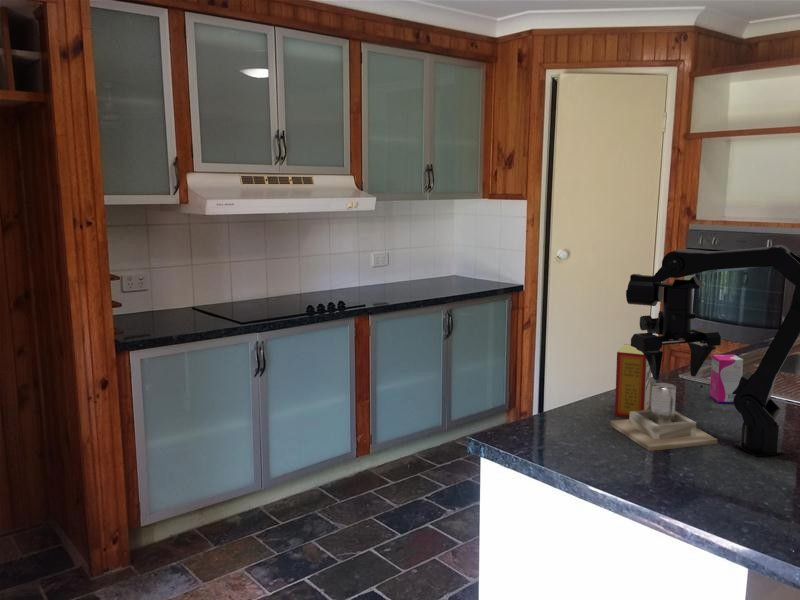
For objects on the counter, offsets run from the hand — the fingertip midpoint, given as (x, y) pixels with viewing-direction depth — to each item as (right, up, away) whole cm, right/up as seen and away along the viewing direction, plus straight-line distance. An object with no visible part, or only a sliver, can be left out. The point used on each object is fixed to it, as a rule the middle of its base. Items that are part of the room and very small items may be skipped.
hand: (674, 377), depth 145 cm
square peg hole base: (-2, -13, +1) cm, 13 cm away
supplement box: (+23, -9, +24) cm, 34 cm away
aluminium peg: (-2, -12, +1) cm, 12 cm away
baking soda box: (-3, -10, +17) cm, 20 cm away
